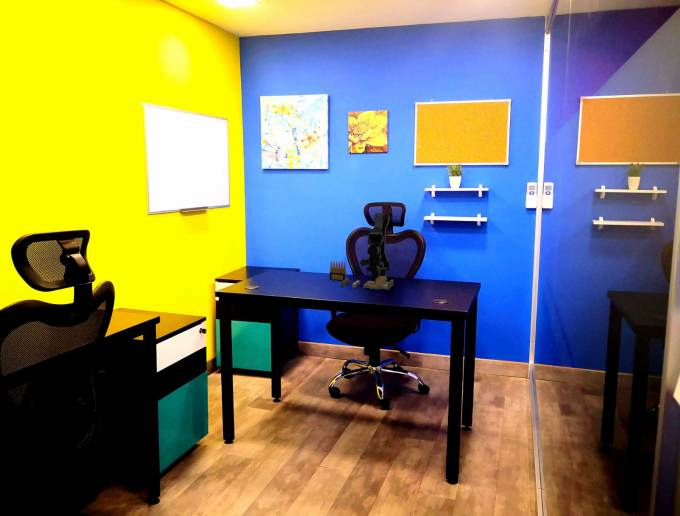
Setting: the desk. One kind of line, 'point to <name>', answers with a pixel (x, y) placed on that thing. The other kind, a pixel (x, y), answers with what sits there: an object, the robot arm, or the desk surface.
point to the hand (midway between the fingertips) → (375, 281)
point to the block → (381, 280)
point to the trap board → (370, 284)
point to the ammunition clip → (337, 271)
